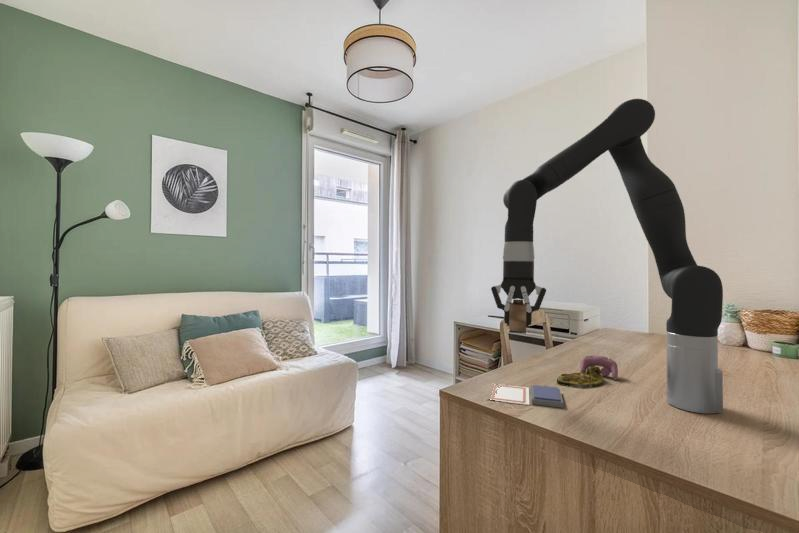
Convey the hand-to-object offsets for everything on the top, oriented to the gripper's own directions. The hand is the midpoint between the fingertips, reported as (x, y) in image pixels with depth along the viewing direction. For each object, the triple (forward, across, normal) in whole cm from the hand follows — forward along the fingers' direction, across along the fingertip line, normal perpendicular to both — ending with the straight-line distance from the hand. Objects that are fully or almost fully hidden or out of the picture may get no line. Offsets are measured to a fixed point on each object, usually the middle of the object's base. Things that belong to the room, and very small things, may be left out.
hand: (517, 325), depth 88 cm
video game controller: (+18, -23, -24) cm, 38 cm away
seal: (+18, -17, -17) cm, 30 cm away
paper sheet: (+18, +2, 0) cm, 18 cm away
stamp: (+1, 0, 0) cm, 1 cm away
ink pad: (+18, -7, 0) cm, 19 cm away
